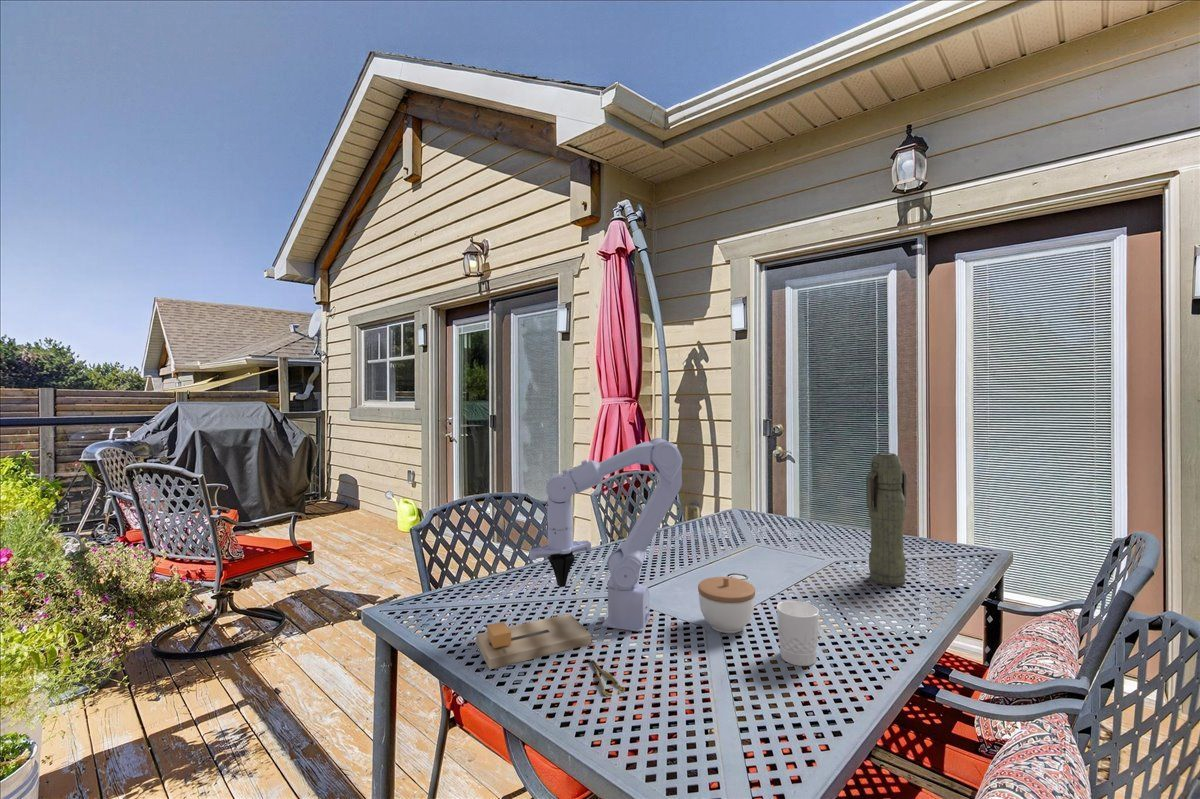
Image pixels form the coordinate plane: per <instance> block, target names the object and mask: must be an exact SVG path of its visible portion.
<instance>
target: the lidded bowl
mask: <svg viewBox="0 0 1200 799" xmlns="http://www.w3.org/2000/svg"><path fill="white" fill-rule="evenodd" d="M697 590H698V591H697V592H698V601H699V602H698V603H699V607H700V611H701V614H702V616H703V617H704V619H705V621H706V622H707V624H709V625H710V627H711V629H712V630H714V631H715V632H718V633H722V634H736V633H739V632H742V631H743V629H744V627H746V626H747V625H748V624H749V622H750V621H751V620H752V617H753V615H754V611H755V602H756V601H755V598H756V597H755V596H756V587H754V585H753V584H752V583H750V582H748V581H747V580H743V579H741V578H735V577H731V576H730V577H729V576H715V577H709V578H705V579H703V580H701V581H700V582H699V583H698V585H697Z"/></svg>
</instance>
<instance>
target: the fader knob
mask: <svg viewBox="0 0 1200 799" xmlns="http://www.w3.org/2000/svg"><path fill="white" fill-rule="evenodd" d="M508 627H509V626H508V625H507V624H506V623H505V621H500V622H496V623H491V624H487V626H486V628H487V629H486V632H487V637H488V639H489V640H490V642H491V644H492V646H493V648H498V647H502V646H506V645H510V644H511V632H510V630H509V629H508Z"/></svg>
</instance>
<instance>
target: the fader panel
mask: <svg viewBox="0 0 1200 799" xmlns="http://www.w3.org/2000/svg"><path fill="white" fill-rule="evenodd" d="M507 627H508V629H509V630H510V632H511V644H510V645H506V646H502V647H498V648H493V646H492V644H491V642H490V640H489V639H488V637H487V631H485V632H479V633H476V635H475V640H476V641H475V644H476V645H477V647H478V650H479V652H480V653H481V654H480V655H482V657H483V660H484V661H485V664H486V665H487V667H488V669H489V670H492V669H493V670H494V669H498V668H502V667H505V666H509V665H514V664H517V663H521V662H526V661H529V660H534V659H537V658H538V659H539V658H541V657H546V656H550V655H553V654H557V653H561V652H565V651H569V650H573V649H578V648H580V647H581V648H582V647H585V646H589V645H590V646H591V645H592V634H591V632H590V631H588V629H587V628H585V627H584V626H583V625H582V623H581V622H579V620H577V619H576V618H575V617H574V616H573V615H572V613H568V614H562V615H558V616H553V617H548V618H544V619H539V620H534V621H530V622H526V623H521V624H516V625H511V626H507Z"/></svg>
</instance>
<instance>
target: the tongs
mask: <svg viewBox="0 0 1200 799" xmlns="http://www.w3.org/2000/svg"><path fill="white" fill-rule="evenodd" d="M589 663H590V664H591V665H592V667H593V668H594V670H595V673H596V677H597V679H598V682H599V685H600V687H601V693H602V694H603V695H604V696H605V697H613V694H612V693H610V692H608V691H606V690H605V686H604V683H603V681H602V678H601V677H600V673H602V675H603V676H605V677H606V678H607V679H608V680H610V681H611V682H612V683H613V684H614V686H616V687H617V689H618V695H621V694H623V693H625V691H626V690H625V687H624V686H621V684H620V683H619V682H618V680H616V679H615V677H614V675H612V674H611V673H610V672H608V671H606V670H604V669H603V668H601V667H600V666H599V665H598V664H597V662H596V661H595V660H594V659H591V660H590V661H589Z"/></svg>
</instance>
